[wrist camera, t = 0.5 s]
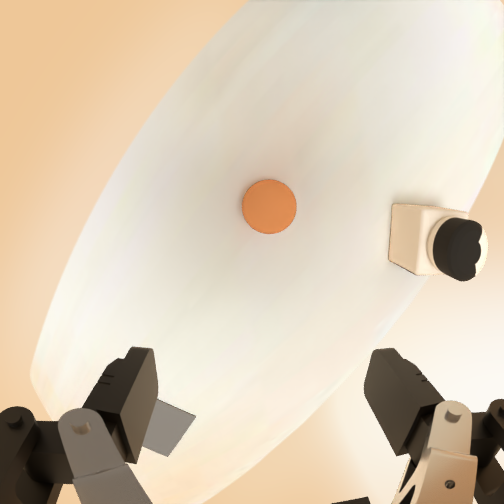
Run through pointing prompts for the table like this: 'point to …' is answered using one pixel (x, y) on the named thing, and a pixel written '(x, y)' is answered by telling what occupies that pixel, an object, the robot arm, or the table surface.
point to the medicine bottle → (436, 241)
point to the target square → (166, 428)
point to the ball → (269, 206)
